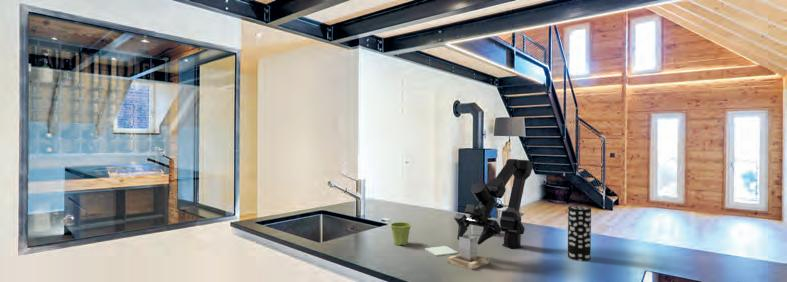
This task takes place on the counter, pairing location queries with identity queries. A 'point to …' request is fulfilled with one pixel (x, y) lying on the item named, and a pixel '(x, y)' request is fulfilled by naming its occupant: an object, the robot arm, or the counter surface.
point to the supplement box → (477, 230)
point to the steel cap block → (468, 248)
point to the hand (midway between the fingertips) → (467, 241)
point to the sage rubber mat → (441, 250)
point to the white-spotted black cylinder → (579, 233)
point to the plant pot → (400, 232)
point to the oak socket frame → (468, 265)
